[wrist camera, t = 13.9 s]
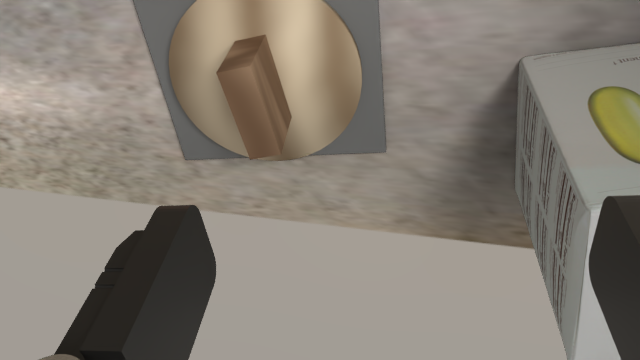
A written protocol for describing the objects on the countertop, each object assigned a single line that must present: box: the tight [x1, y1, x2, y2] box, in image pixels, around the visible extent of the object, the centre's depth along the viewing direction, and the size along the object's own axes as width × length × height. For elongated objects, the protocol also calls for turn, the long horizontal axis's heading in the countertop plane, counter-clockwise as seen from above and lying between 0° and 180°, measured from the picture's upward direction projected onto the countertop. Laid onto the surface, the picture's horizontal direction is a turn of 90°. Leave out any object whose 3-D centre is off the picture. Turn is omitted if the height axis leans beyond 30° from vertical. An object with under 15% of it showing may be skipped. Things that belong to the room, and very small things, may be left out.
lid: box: [169, 0, 362, 161], centre depth 39 cm, size 15×15×6 cm
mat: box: [133, 0, 386, 160], centre depth 42 cm, size 18×16×1 cm
